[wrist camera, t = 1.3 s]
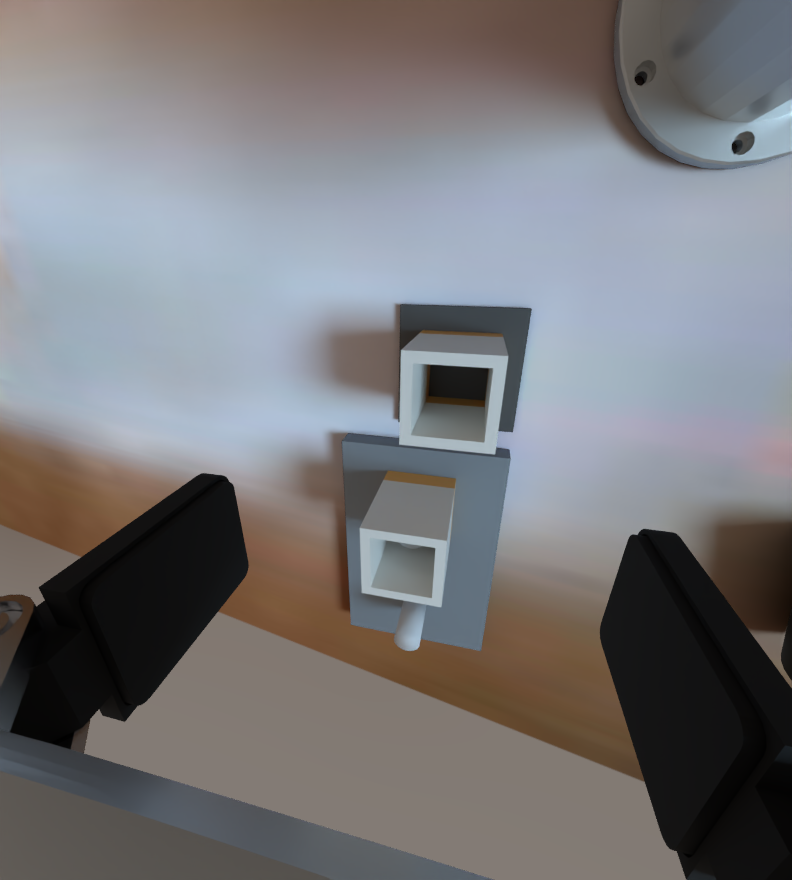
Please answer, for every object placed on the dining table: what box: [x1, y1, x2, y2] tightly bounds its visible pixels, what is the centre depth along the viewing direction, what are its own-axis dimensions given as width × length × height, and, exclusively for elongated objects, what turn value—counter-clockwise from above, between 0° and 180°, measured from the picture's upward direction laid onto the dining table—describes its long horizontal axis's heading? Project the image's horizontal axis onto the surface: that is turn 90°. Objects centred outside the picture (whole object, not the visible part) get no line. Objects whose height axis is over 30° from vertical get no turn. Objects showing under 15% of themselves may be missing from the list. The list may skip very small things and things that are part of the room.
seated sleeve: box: [360, 471, 456, 607], centre depth 25 cm, size 5×5×7 cm
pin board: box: [342, 433, 511, 651], centre depth 29 cm, size 19×12×6 cm, turn 179°
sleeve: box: [399, 330, 508, 454], centre depth 22 cm, size 5×5×7 cm
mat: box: [398, 304, 532, 432], centre depth 25 cm, size 8×8×1 cm
